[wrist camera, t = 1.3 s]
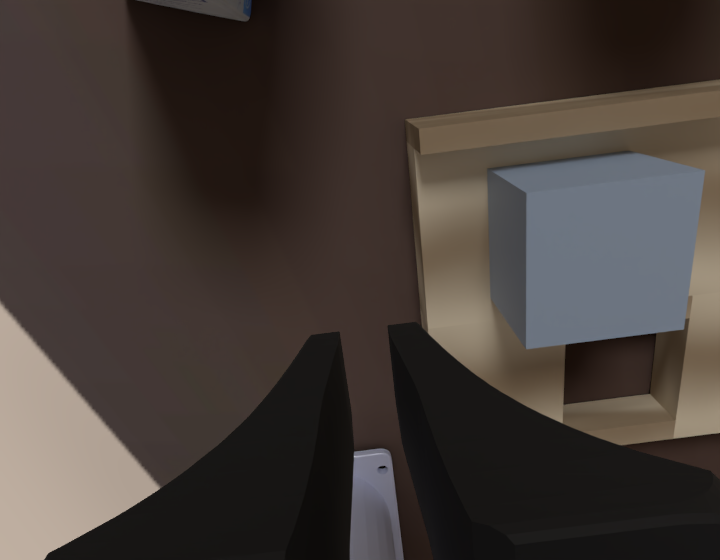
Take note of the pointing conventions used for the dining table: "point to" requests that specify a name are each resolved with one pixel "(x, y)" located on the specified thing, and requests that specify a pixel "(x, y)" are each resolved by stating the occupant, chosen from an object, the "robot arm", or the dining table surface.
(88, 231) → the dining table surface
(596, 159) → the slate block
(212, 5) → the medicine box
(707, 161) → the tray
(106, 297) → the dining table surface
